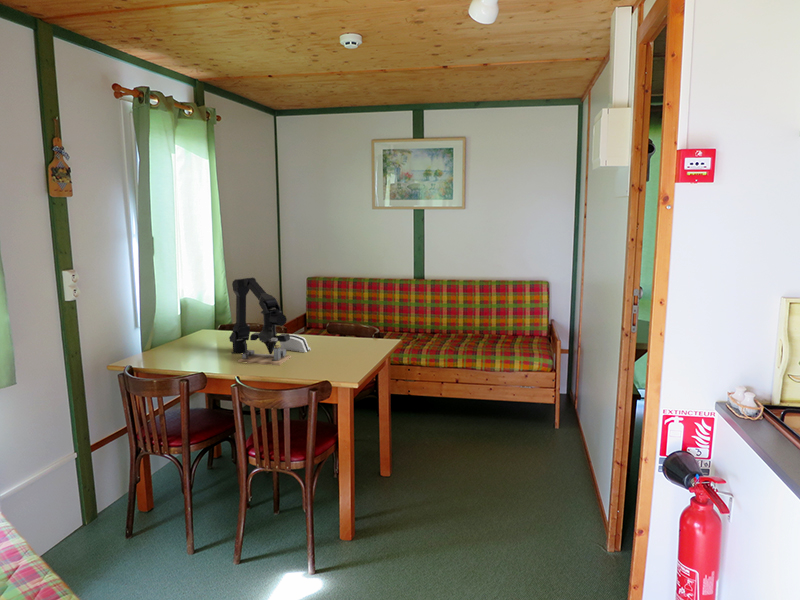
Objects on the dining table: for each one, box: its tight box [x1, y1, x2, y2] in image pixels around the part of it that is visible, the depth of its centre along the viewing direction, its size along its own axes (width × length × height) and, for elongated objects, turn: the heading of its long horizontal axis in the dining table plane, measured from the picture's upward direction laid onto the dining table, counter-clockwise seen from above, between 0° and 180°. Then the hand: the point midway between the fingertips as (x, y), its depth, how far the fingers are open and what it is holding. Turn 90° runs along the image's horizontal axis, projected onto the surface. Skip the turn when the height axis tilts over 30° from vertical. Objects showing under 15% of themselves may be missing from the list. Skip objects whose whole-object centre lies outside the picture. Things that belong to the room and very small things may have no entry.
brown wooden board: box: [237, 353, 292, 366], centre depth 282 cm, size 22×14×1 cm, turn 78°
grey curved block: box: [279, 333, 312, 353], centre depth 302 cm, size 17×5×10 cm, turn 63°
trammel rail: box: [241, 349, 285, 359], centre depth 282 cm, size 20×8×3 cm, turn 78°
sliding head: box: [273, 344, 287, 361], centre depth 280 cm, size 4×8×7 cm, turn 168°
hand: (270, 354), depth 279 cm, fingers closed
